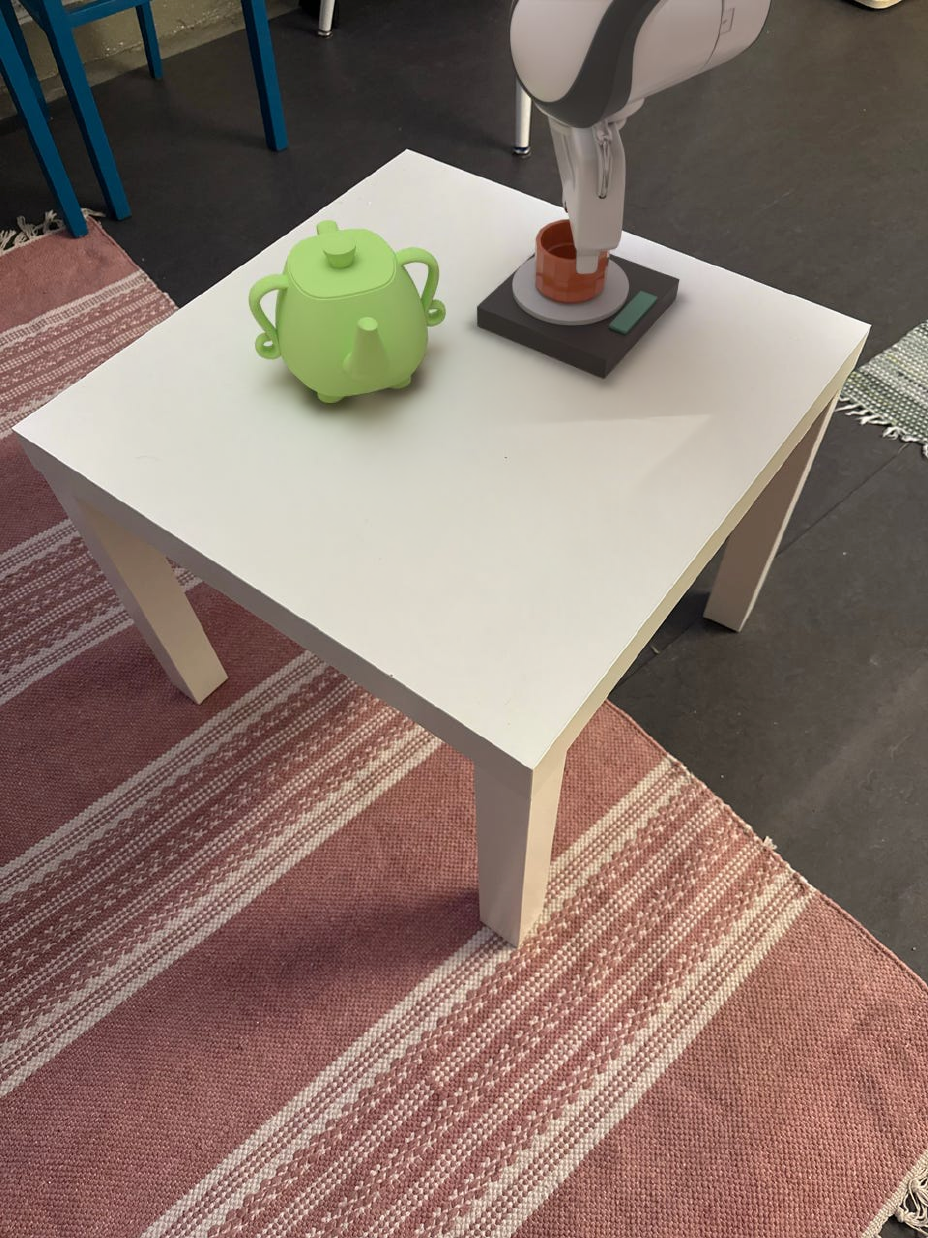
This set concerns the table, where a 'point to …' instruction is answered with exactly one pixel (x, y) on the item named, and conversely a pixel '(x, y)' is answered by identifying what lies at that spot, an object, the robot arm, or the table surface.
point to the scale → (580, 315)
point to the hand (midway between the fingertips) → (578, 237)
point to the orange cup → (565, 266)
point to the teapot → (348, 312)
